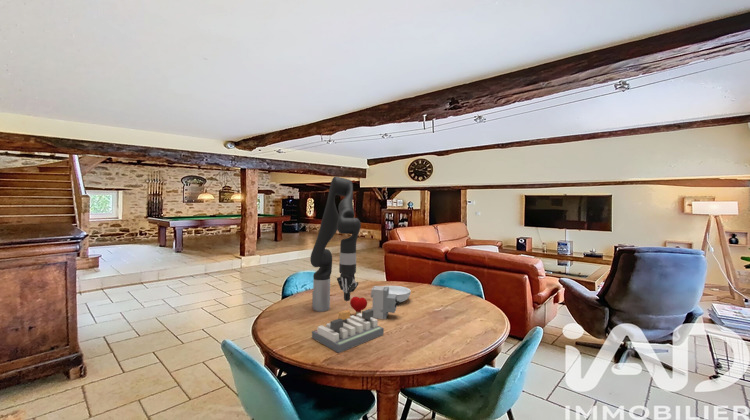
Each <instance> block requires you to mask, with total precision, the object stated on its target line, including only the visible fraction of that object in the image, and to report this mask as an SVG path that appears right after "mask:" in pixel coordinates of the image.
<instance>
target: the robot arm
mask: <svg viewBox="0 0 750 420" xmlns="http://www.w3.org/2000/svg"><path fill="white" fill-rule="evenodd" d="M336 196H341V197H344V198H343V199H342V200H340V202H339V204H338V209H337V206H336V200H335V199H336ZM353 199H354V184H353V181H352V180H351V179H349V178H348V179H347V178H344V177H341V176H340V177H339V176H333V178H332V179H331V182H330V186H329V192H328V195H327V200H326V204H325V208H324V212H323V214H322V219H321V222H320V226H319V229H318V230H319V231H318V234H317V237H316V239H315V243H314V245H313V248H312V251H311V254H310V264H311V265H312V267H314V268H318V269H317V271H315V272H314V273H313V277H312V278H313V280H312V284H313V286H312V287H313V290H312V294H311V295H312V296H311V297H312V299H311V300H312V301H311V302H312V304H311V307H312V310H313V311H315V312H326V311H329V310H330V309H331V308H330V307H331V275H332V272H333V271H332V270H333V269H332V268H333V254H332V251H331V250H329V249H327V248H326V247H327V245H328V244H329V243H330V241H331V240H332V239H333V237H334V236H335V234H336V233H337V231H338V233H340V234H343V235H344V234H345V235H346V234H348V235H349V234H351V235H350V236H349V237H348V238H346V237H345V238H343V239H341V240H340V245H339V246H340V249H339V251H340V253H339V261H338V262H339V269H338V270H339V271H338V272H339V274H340V276H339V277H336V281H337V283H338V285H339V288H340V290H341V291H342V293H343V300H344V301H345V302H349V301H351V293H354V291H355V290H356V288H357V287H358V286H359V282H358V281H356V280H355V279H356V277H355V274H356V273H357V241H358V237H359V234H360V230H361V227H362V223H361V221H360V219H359V217H358V218H357V217H355V210H354V206H353V205H354V203H353V201H354V200H353Z"/></svg>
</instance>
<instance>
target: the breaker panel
mask: <svg viewBox="0 0 750 420" xmlns="http://www.w3.org/2000/svg"><path fill="white" fill-rule="evenodd" d="M372 317H373V310H372V309H371V308H368V309H364V310H361V313H359V314H356V313H355V315H350V318H348V319H347V324H346V323H344V322H343V320H342V319H338V318H337V319H334V320H330V321H329V322H327V323H326V324H325V326H324V325H323V324H321V325H319V326H317V329H316V330H312V331H311V338H312V339H313V340H315V341H316V340H317V341H316V342H318V341H319V342H318V343H320V344H321V345H323V344H324V346H325V347H327V348H329V349H330V350H332V351H335V352H337V353H338V354H340V353H342V352H345V351H348V350H350V349H353V348H354V347H356V346H359V345H362V344H364V343H366V342H369V341H371V340H374V339H377V338H378V337H381V336H383V335H384V331H385V330H384V327H382V326H380V325H378V321H379V320H378V319H376V318H372Z"/></svg>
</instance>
